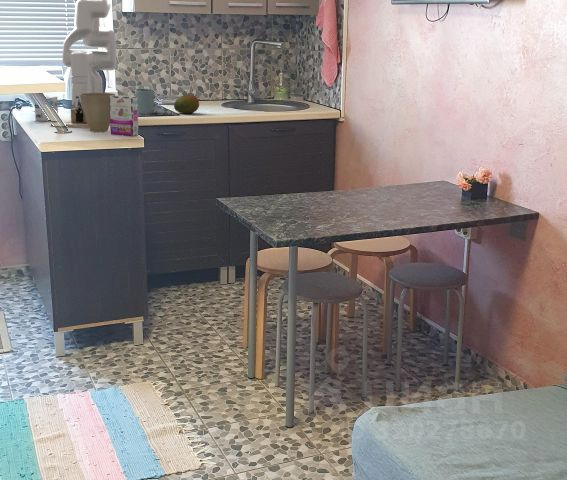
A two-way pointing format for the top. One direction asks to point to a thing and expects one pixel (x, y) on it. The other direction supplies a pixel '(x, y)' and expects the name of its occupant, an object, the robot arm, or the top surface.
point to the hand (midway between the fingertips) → (81, 120)
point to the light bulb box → (39, 113)
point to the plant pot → (97, 110)
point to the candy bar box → (124, 115)
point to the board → (75, 124)
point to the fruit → (186, 104)
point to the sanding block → (73, 116)
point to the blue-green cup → (145, 100)
